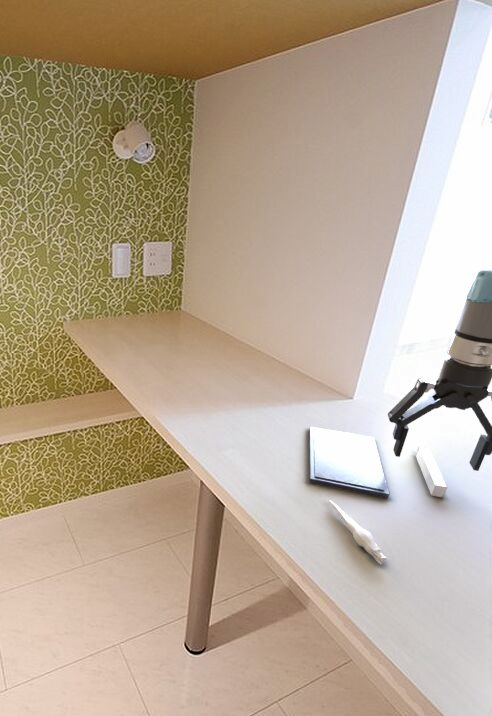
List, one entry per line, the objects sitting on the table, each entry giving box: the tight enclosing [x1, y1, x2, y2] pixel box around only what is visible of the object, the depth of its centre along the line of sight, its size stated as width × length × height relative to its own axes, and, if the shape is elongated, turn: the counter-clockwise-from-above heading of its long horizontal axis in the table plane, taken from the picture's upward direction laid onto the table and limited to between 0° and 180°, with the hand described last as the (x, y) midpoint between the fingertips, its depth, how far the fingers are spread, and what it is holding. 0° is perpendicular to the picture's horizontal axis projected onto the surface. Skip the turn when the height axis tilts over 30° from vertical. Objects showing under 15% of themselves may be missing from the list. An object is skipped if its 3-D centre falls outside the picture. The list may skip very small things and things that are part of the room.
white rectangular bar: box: [415, 446, 448, 498], centre depth 88 cm, size 2×16×2 cm, turn 161°
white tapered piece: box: [328, 499, 388, 565], centre depth 73 cm, size 15×3×2 cm, turn 11°
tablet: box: [308, 426, 390, 499], centre depth 93 cm, size 14×22×1 cm, turn 161°
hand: (434, 459), depth 87 cm, fingers open, 13 cm apart
